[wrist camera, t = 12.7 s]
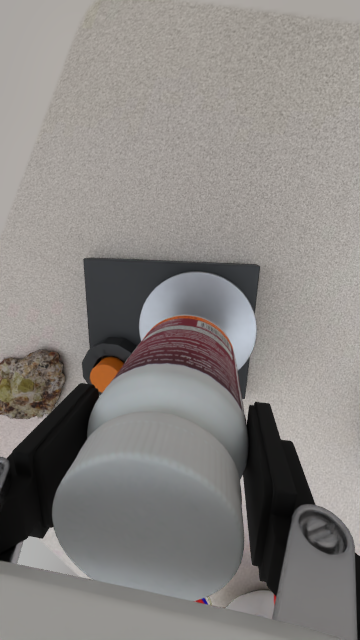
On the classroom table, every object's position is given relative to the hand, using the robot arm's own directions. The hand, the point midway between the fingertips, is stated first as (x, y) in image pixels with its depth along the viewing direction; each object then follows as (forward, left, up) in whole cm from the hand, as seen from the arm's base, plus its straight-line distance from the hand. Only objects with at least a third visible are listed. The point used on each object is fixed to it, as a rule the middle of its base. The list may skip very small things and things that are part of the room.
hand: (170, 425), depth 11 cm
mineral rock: (-19, -9, -16) cm, 27 cm away
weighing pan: (0, 0, -13) cm, 13 cm away
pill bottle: (0, 0, -7) cm, 7 cm away
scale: (-3, -1, -16) cm, 17 cm away
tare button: (-8, -5, -13) cm, 16 cm away
